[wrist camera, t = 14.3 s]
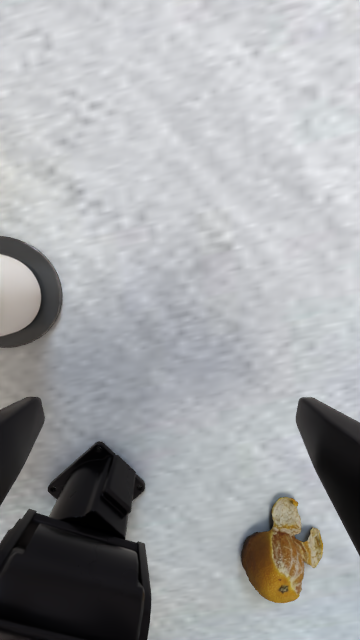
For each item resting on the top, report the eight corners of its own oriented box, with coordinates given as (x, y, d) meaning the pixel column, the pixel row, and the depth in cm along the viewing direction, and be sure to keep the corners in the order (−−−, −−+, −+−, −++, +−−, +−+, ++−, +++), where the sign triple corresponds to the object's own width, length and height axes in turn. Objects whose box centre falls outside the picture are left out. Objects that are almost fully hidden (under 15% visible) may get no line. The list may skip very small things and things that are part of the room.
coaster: (6, 367, 21) (2, 369, 20) (-79, 287, 20) (-85, 287, 19) (84, 298, 21) (83, 298, 20) (5, 213, 20) (1, 211, 19)
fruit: (326, 541, 26) (354, 582, 22) (267, 588, 25) (285, 637, 22) (284, 490, 24) (306, 524, 21) (223, 540, 24) (234, 582, 21)
